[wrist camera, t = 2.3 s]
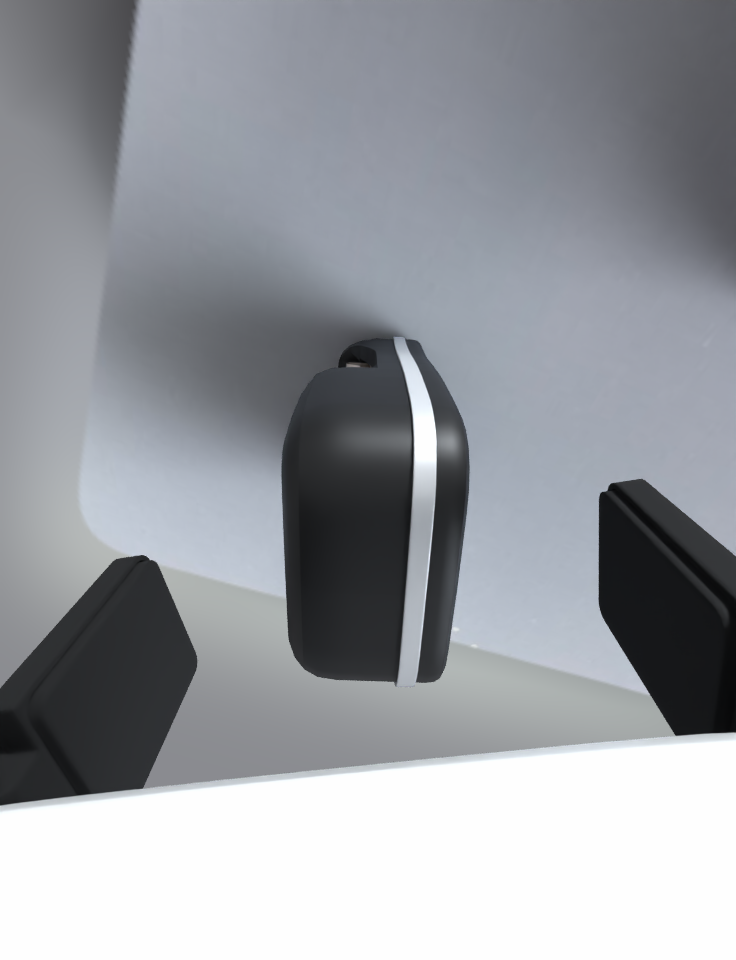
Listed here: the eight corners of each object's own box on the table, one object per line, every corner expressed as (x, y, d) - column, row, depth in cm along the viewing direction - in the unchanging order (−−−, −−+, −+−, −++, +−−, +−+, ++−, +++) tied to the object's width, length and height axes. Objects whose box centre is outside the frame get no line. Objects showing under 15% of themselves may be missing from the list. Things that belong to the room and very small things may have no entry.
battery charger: (320, 328, 18) (254, 421, 8) (422, 332, 18) (484, 429, 8) (321, 493, 21) (273, 719, 11) (408, 497, 21) (443, 724, 11)
